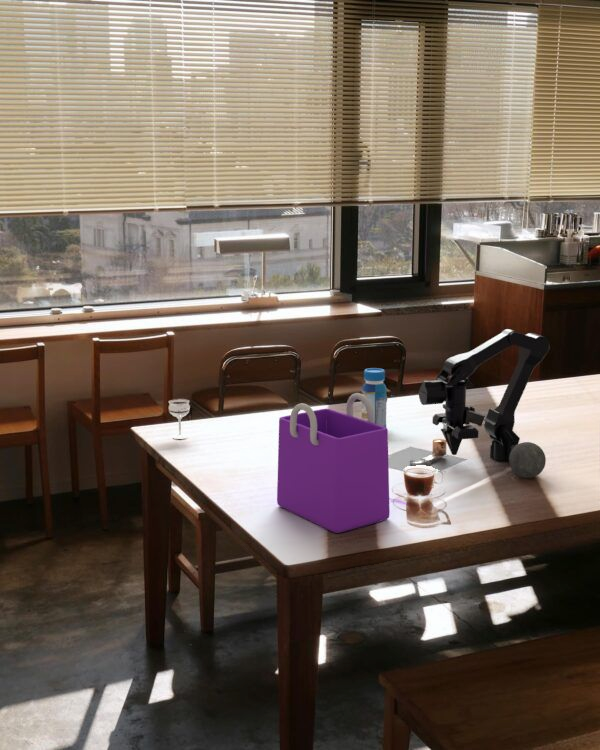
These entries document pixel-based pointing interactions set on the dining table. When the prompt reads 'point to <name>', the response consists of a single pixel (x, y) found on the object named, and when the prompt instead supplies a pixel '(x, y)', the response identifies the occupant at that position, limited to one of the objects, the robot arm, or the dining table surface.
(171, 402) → the wineglass
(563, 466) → the dining table surface
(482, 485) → the dining table surface
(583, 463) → the dining table surface
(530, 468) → the decorative ball
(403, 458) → the mount plate
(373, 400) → the beverage bottle
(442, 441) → the crank
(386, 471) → the shopping bag
